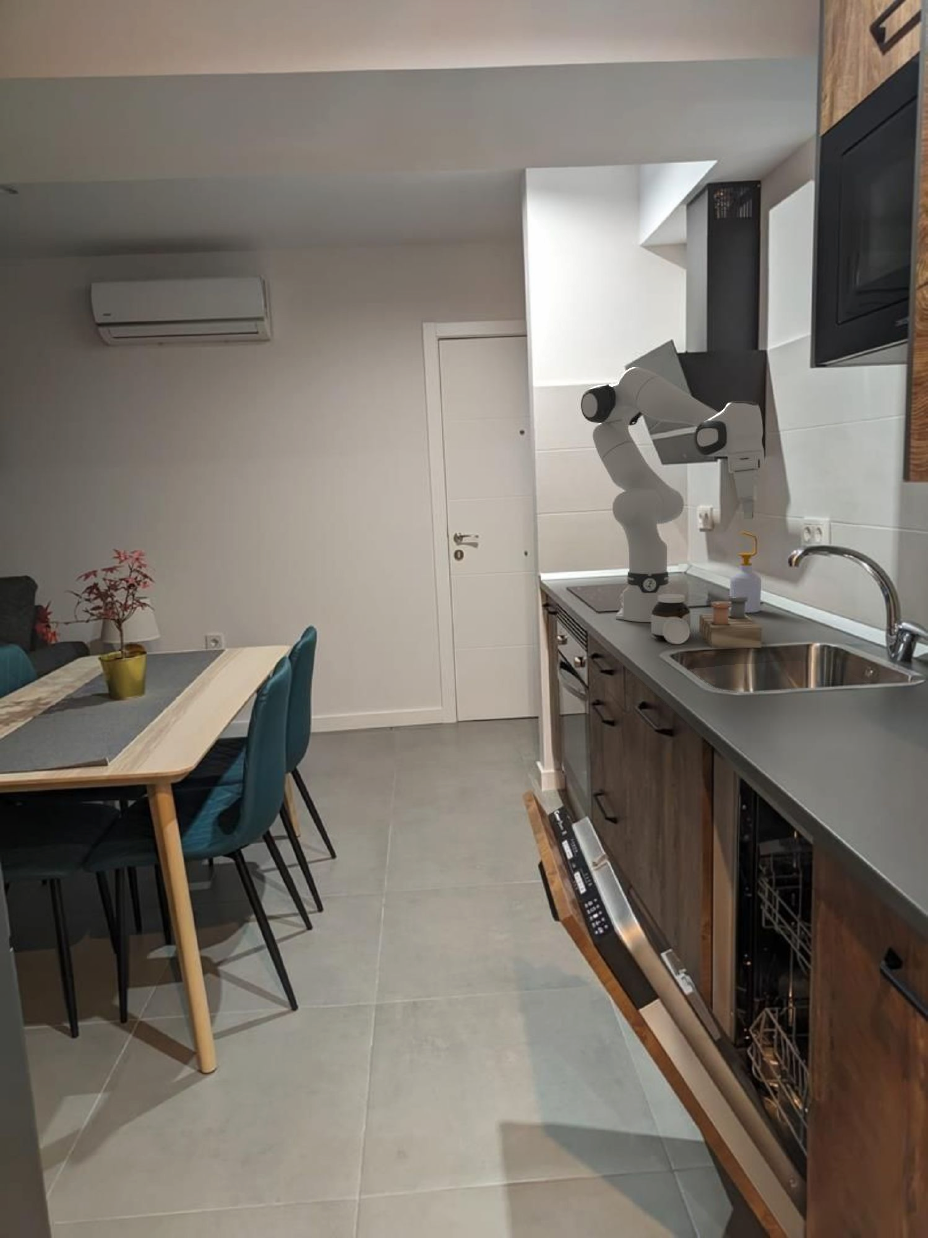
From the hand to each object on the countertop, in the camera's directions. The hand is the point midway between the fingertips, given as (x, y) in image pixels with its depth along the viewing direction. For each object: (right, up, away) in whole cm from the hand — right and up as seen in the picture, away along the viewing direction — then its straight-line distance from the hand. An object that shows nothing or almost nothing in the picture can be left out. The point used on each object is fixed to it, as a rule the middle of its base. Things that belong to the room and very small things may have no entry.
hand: (749, 518), depth 217 cm
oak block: (-4, -31, +4) cm, 32 cm away
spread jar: (-18, -32, +5) cm, 37 cm away
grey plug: (0, -27, +8) cm, 28 cm away
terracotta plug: (-7, -28, 0) cm, 29 cm away
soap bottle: (+14, -23, +46) cm, 53 cm away
